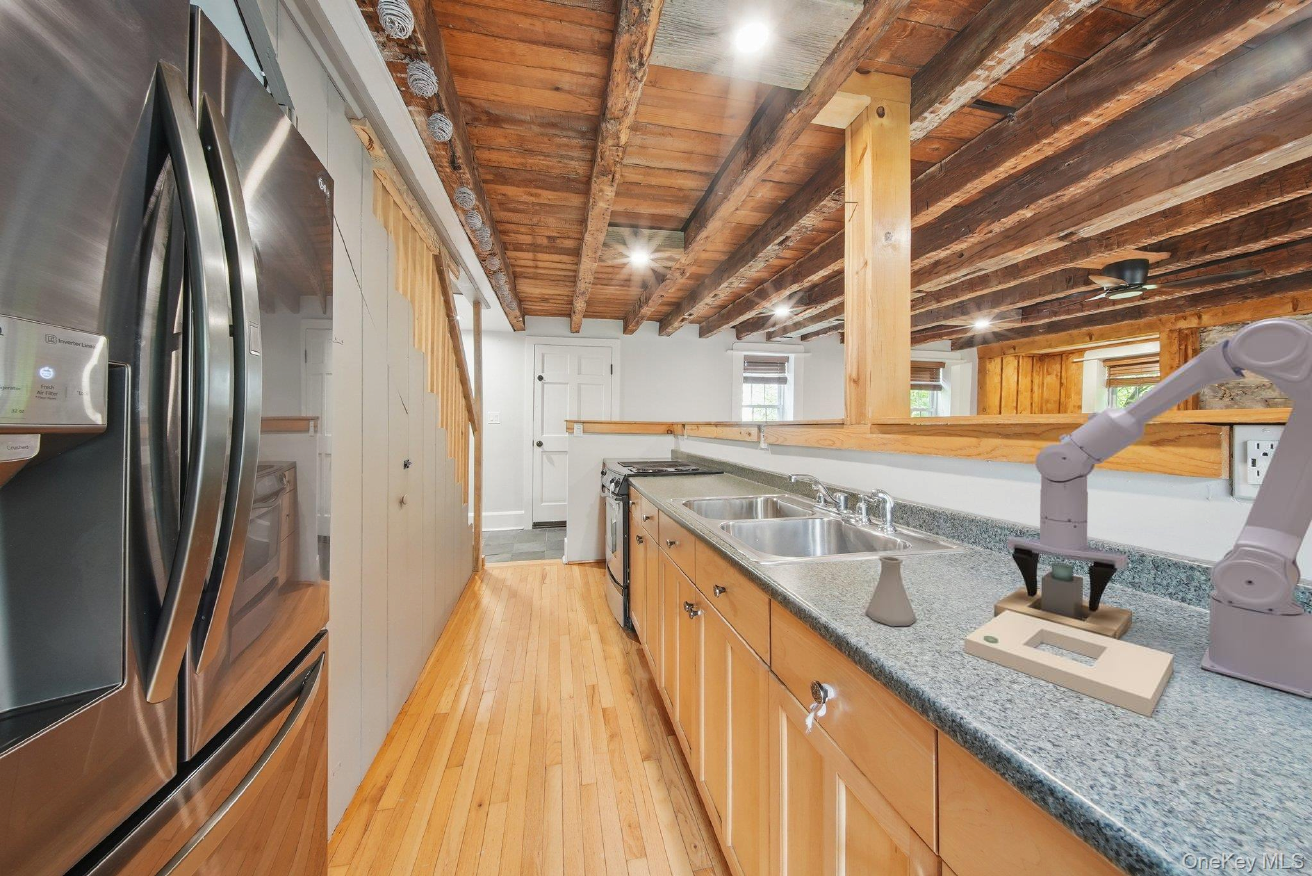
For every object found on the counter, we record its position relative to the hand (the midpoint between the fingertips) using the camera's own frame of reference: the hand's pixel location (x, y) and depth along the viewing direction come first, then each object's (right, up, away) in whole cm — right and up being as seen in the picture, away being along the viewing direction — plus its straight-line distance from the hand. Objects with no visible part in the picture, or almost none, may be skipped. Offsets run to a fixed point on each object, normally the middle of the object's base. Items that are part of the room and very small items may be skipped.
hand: (1061, 601), depth 75 cm
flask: (-27, -4, +2) cm, 27 cm away
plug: (0, -3, 0) cm, 3 cm away
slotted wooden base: (0, -3, 0) cm, 3 cm away
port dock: (-11, -4, -12) cm, 17 cm away
